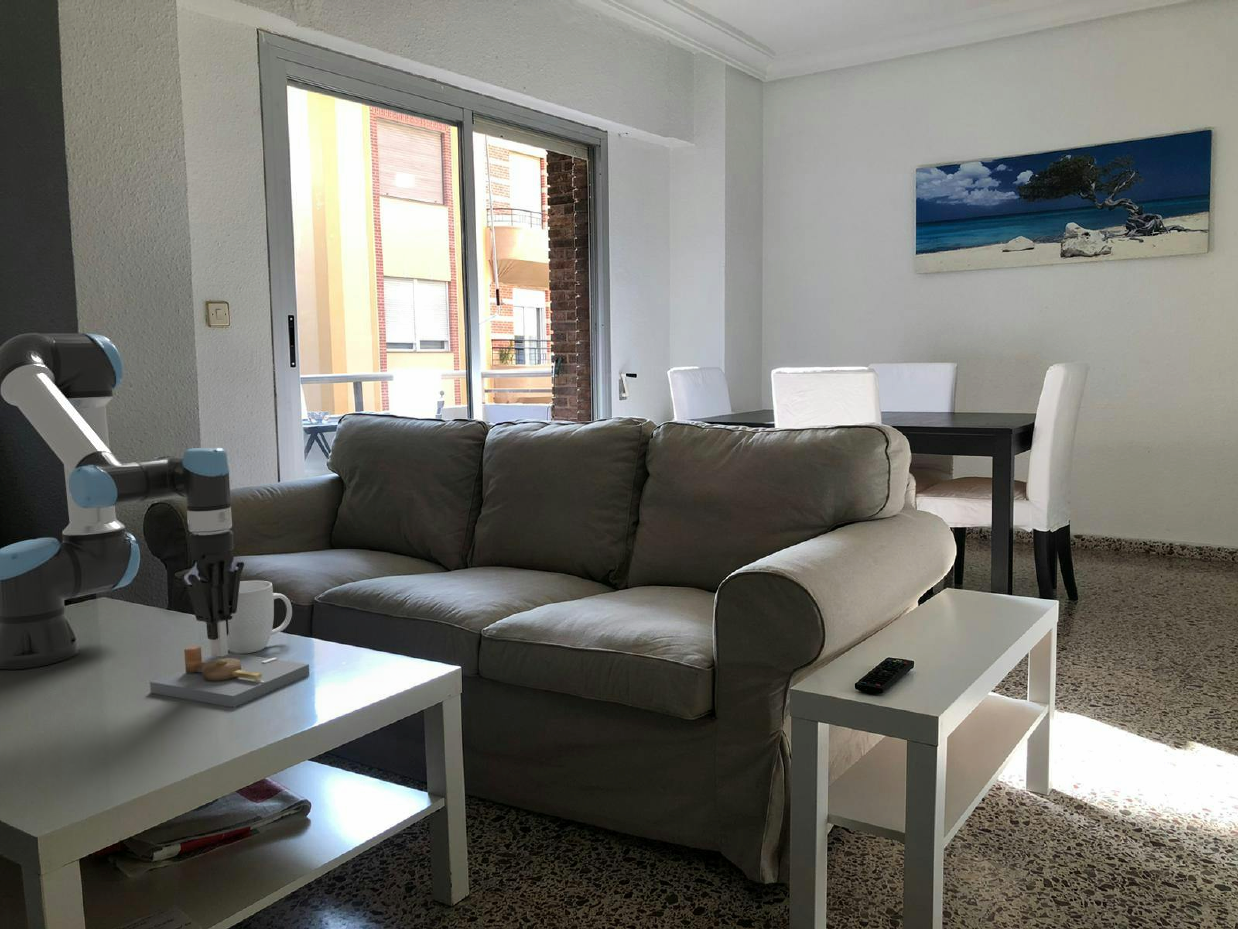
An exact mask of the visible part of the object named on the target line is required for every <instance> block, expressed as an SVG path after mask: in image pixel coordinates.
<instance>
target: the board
mask: <svg viewBox="0 0 1238 929" xmlns="http://www.w3.org/2000/svg"><path fill="white" fill-rule="evenodd" d="M225 658H234V659H239V660H240V661H241V670H243V671H249V672H256V673H261V674H262V678H260V679H258V680H254V679H248V678H241V677H234V678H230V679H226V680H218V681H211V680H205V679H204V678H203V672H199V671H198V672H193V673H188V672H186V668H184V669H181V670H177V671H175V672H173V673H169V674H167V675H165V676H162V677H159V678H157V679H154V680H151V681H150V682H149V685H150V686H149V687H150V693H151V694H156V695H161V696H168V697H174V698H179V699H184V700H190V701H195V702H201V703H206V704H212V705H218V706H225V707H228V708H236V706H237V707H239V706H241V705H244V704H246V703H248V702H250V701H252V700H255V699H257V698H259V697H262V696H264V695H267V694H269V693H271V692H272V691H276V690H278V689H280V688H283V687H285V686H287V685H289V684H291V683H294V682H296V681H298V680H300V679H303V678H306V677H308V676H310V665H309V664H308V663H302V662H295V661H290V660H281V659H278V658H277V657H272V658H268V657H261V656H254V655H247V654H236V653H232V652H228V654H227V655H225V656H216V657H213V658H212V659H209V660H206V661H202V663H207V662H210V661H213V660H218V659H225ZM277 688H278V689H277ZM275 689H276V690H275ZM270 691H271V692H270ZM254 698H255V699H254ZM245 702H246V703H245ZM238 705H239V706H238Z"/></svg>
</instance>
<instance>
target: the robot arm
mask: <svg viewBox="0 0 1238 929" xmlns="http://www.w3.org/2000/svg"><path fill="white" fill-rule="evenodd" d="M123 377H124V364H123V361H122V357H121V354H120V352H119V350H118V349H117V347H116V346H115V345H114V344H113V342H112V340H110V339H109V338H108V337H106V336H104V335H102V334H97V333H96V334H95V333H82V332H79V333H77V332H76V333H74V332H73V333H70V332H69V333H65V332H63V333H60V332H59V333H58V332H57V333H54V332H53V333H39V332H28V333H27V332H26V333H22V334H19V335H16V336H14V337H11V338H10V339H8V340H7V341H5V342H4V343H3V344H2V345H1V346H0V396H1V398H3V400H4V401H5V402H7V403H8V404H10V405H11V406H16V407H18V409H19V410H20V412H21V413H22V414H23V415H24V417H25V418H26V419H27V420H28V422H29V423H30V424H31V426H33V428H34V429H35V430H36V431H37V432H38V434H39V435H40V436H41V437H42V439H43V440H44V441H45V443H46V444H47V445H48V446H49V448H50V449H51V451H53V452H54V454H55V455H56V457H58V459H59V460H60V461H61V463H62V464H63V470H64V479H65V488H66V489H65V491H66V498H67V499H66V500H67V510H68V518H69V519H68V521H69V523H68V525H67V526H66V527H65V528H64V529H63V530H62V534H61V535H62V542H60V541H59V539H57V538H55V537H38V538H36V539H27V540H22V541H18V542H15V543H12V544H9V545H7V546H4V547H1V548H0V669H1V670H21V669H31V668H32V669H33V668H38V667H43V666H47V665H52V664H55V663H60V662H63V661H65V660H68V659H70V658H73V657H75V656H76V655H77V654H78V653H79V642H78V639H77V637H76V634H75V632H74V631H73V629H72V627H71V624H70V623H69V620H68V618H67V616H66V608H65V600H69V599H75V598H79V597H84V596H87V595H92V594H98V593H103V592H111V591H113V590H115V589H119V588H123V587H126V586H127V585H129V584H130V583H132V581H133V580H134V578H135V577H136V575H137V573H138V571H139V568H140V561H141V554H140V553H141V552H140V548H139V544H138V543H137V539H136V538H135V537H134V536H133V534H132V533H130V532H127V531H126V527H125V525H124V523H122V522H120V521H119V520H118V519H117V515H116V514H117V513H116V506H119V505H120V506H121V505H126V504H133V503H138V502H139V503H140V502H147V501H154V500H161V499H163V500H164V499H168V498H185V500H186V512H187V513H186V514H187V526H188V527H187V531H189V532H191V533H190V534H189V535H188V539H189V543H188V544H189V552H190V553H191V555H192V556H193V558H192V562H191V569H190V570H189V571H188V572H187V573H183V574H181V577H180V578H181V580H182V582H183V583H184V584H185V586H186V589H187V593H188V596H189V599H190V603H191V606H192V609H193V612H194V613H193V614H194V616H195V619H196V621H198V622H204V623H205V624H206V634H207V639H208V640H209V641H210V655H211V656H216V657H219V656H225V655H227V654H228V653H229V649H228V647H227V635H228V633H229V628H228V620H231V619H232V617H233V616H230V615H231V614H235V613H236V611H237V603H238V594H239V586H240V582H241V578H242V577H241V576H242V573H243V570H244V566H245V562H244V561H237V560H236V559H235V557H234V555H233V553H232V551H233V549H234V532H233V531H232V530H231V529H232V527H233V520H232V506H231V504H232V503H231V485H230V484H231V483H230V466H229V461H228V455H227V451H226V450H225V449H224V448H222V447H215V446H214V447H208V446H207V447H194V448H189V449H186V450H184V451H183V454H182V457H181V456H180V457H179V456H173V455H165V456H157V457H156V456H155V457H153V458H152V459H144V460H132V461H124V462H123V461H122V462H121V460H119V459H118V458H117V457H116V456H115V454H113V453H112V451H111V449H110V440H109V428H108V419H107V418H108V417H107V405H108V403H110V402H111V401H112V399H113V398H114V394H113V390H115V389H117V388H119V386H120V385H121V383H122V381H123V380H122V378H123Z"/></svg>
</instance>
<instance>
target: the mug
mask: <svg viewBox="0 0 1238 929" xmlns="http://www.w3.org/2000/svg"><path fill="white" fill-rule="evenodd" d="M273 588H274V587H273V583H272V582H271V581H268V580H267V581H266V580H243V581H242V580H240V586H239V594H238V603H237V611H236V613H235V614H231V615H230V616H233V617H232V619H231V620H228V628H229V633H228V635H227V647H228V651H230V653H235V654H241V655H246V654H252V653H256V652H259V651H262V650H263V649H265V648H266V647H267V645H268V643H269V641H270V638H271V636H273V635H276V634H278V633H281V632H282V631H284V630H285V629H286V628H287V626H289V624H290V622H291V619H292V616H293V607H292V604H291V601H290V599H289V598H288V597H287V596H286V595H285V594H282V593H277V592H274V590H273ZM276 599H281V600H282V601H283V602H284V604H285V607H286V616H285V619H284V621H283V622H282V623H281V624H280V625H279V626H278V627H276V628H274V627H273V626H274V619H275V618H274V617H275V610H274V609H275V604H274V603H275V602H274V601H275V600H276Z"/></svg>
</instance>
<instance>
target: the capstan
mask: <svg viewBox="0 0 1238 929" xmlns="http://www.w3.org/2000/svg"><path fill="white" fill-rule="evenodd" d="M183 654H184V663H185V665H184V666H185V669H186V672H188V673H193V672H198V671H199V672H203V678H204V679H205V680H211V681H218V680H226V679H230V678H234V677H241V678H248V679H254V680H258V679H260V678H262V674H261V673H256V672H249V671H243V670H241V661H240V660H239V659H234V658H225V659H218V660H213V661H210V662H207V663H202V662H203V659H202V658H203V657H202V647H201V646H190V647H186V648H184V653H183Z"/></svg>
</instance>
